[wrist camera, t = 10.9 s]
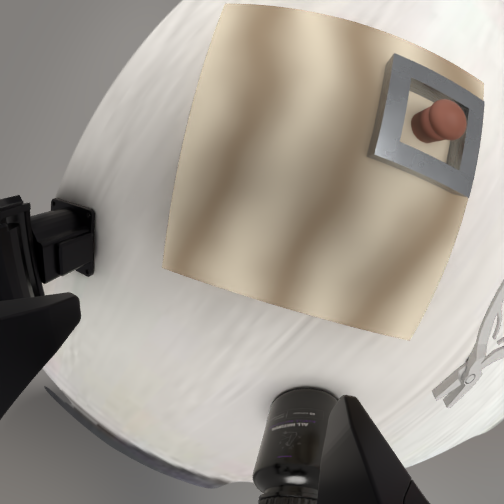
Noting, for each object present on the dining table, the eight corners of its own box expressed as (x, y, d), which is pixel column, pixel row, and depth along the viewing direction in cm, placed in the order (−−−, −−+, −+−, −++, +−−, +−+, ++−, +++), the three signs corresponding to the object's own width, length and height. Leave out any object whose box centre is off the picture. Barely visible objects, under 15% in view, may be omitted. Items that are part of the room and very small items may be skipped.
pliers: (550, 312, 13) (460, 415, 18) (543, 306, 14) (456, 406, 19) (527, 258, 13) (417, 389, 18) (517, 252, 14) (413, 378, 19)
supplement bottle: (296, 374, 21) (276, 501, 10) (355, 402, 21) (361, 515, 10) (257, 412, 23) (225, 514, 12) (311, 435, 23) (299, 532, 12)
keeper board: (171, 261, 20) (128, 291, 15) (230, 13, 14) (203, -29, 8) (404, 330, 18) (426, 378, 13) (474, 87, 12) (516, 69, 6)
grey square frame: (366, 156, 14) (374, 154, 12) (385, 64, 12) (394, 52, 10) (453, 194, 13) (468, 197, 11) (469, 106, 11) (484, 101, 9)
